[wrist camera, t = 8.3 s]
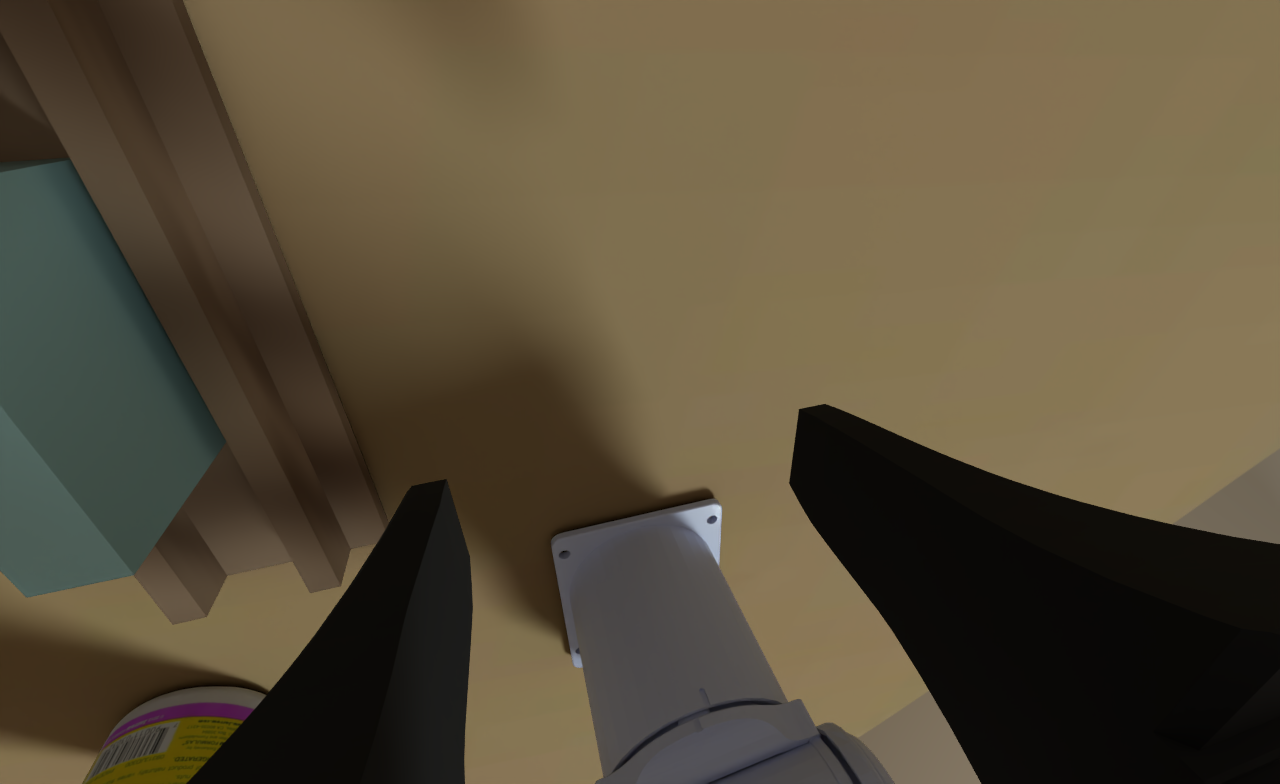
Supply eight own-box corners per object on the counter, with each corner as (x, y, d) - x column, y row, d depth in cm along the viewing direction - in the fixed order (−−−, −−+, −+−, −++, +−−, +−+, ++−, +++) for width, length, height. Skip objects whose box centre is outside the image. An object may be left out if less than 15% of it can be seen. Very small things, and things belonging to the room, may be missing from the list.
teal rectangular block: (235, 429, 17) (134, 574, 12) (162, 441, 16) (26, 597, 11) (89, 156, 13) (-160, 202, 8) (-13, 163, 12) (-347, 216, 7)
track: (391, 529, 21) (360, 700, 15) (160, 578, 19) (24, 792, 13) (74, -272, 10) (-471, -762, 4) (-516, -315, 8) (-2758, -1225, 3)
